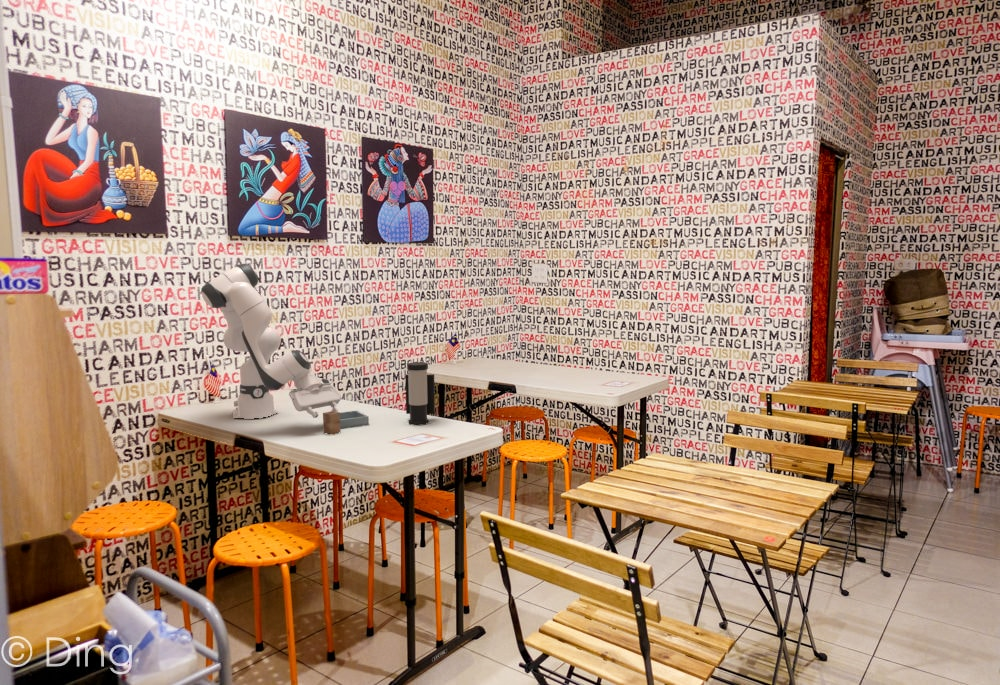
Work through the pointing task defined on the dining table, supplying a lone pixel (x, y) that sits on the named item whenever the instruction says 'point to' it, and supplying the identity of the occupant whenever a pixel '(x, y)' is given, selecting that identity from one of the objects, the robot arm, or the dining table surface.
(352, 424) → the tray
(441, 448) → the dining table surface
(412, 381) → the light fixture
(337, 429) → the walnut block
